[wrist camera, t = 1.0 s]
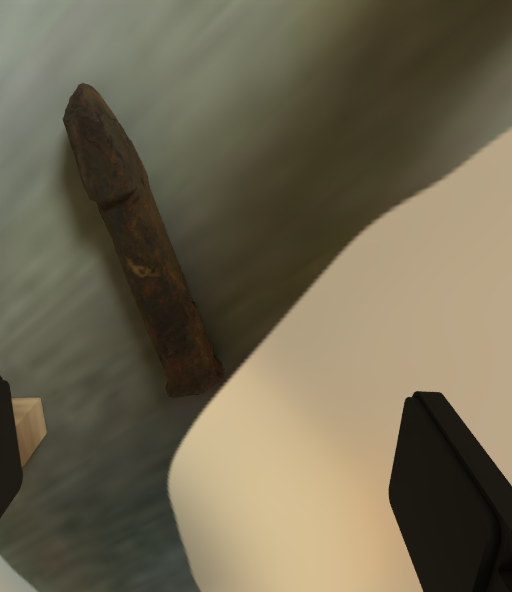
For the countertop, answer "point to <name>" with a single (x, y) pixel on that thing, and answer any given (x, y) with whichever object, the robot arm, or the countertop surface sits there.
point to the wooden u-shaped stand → (28, 425)
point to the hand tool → (141, 243)
